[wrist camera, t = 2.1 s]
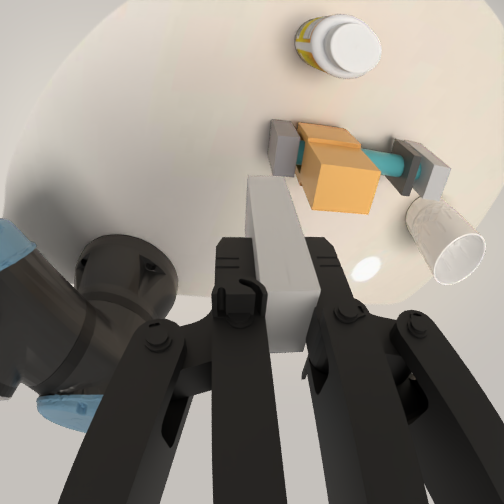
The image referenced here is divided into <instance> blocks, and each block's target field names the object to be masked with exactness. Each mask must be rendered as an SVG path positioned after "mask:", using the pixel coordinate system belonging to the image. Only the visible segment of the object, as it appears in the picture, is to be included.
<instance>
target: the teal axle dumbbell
mask: <svg viewBox="0 0 504 504" xmlns="http://www.w3.org/2000/svg"><path fill="white" fill-rule="evenodd" d="M304 148H305V141H302V140H300V136H299V134H298V133H297V131H296V129H295V128H294V126H293V124H292V123H291V121H283V120H272V121H271V130H270V138H269V147H268V158H269V162H270V166H271V170H272V174H273V176H286V177H294V174H295V168H296V165H302V159H303V154H304ZM360 149H361V150H362V151H363V152H364V153H365V154H366V155H367V156H368V158H369V159H370V160H371V161H372V162H373V163H374V164H375V165H376V166H377V168H378V169H379V170H380V171H381V175H385V176H386V178H387V179H388V180H389V181H390V182H391V183H392V185H393V186H394V187H395V188H396V189H397V191H398V192H399V193H400V194H401V195H403V196H409V195H410V192H411V190H412V187H413V189H414V190H415V191H416V192H417V193H418V194H419V195H420V196H421V197H422V199H428V200H434V201H440V198H441V196H442V193H443V190H444V188H445V185H446V182H447V179H448V177H449V174H450V171H451V168H450V167H449V166H448V165H446V164H445V163H444V162H443V161H442V160H440V159H439V158H438V157H437V156H436V155H434V154H433V153H432V152H431V151H429V150H428V149H427V148H426V147H424V146H423V145H422V144H420V143H416V142H412V141H407V140H404V142H403V141H402V140H397V139H395V141H394V145H393V148H392V152H391V153H385V152H380V151H374V150H368V149H362V148H360Z"/></svg>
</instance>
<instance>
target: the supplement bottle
mask: <svg viewBox="0 0 504 504" xmlns="http://www.w3.org/2000/svg"><path fill="white" fill-rule="evenodd" d="M295 47H296V50H297V53H298V54H299V56H300V57H301V59H302V60H303V61H304V62H305V63H307V64H308V65H310V66H312V67H314V68H316V69H319V70H321V71H323V72H326V73H328V74H330V75H332V76H335V77H338V78H343V79H353V78H357V77H360V76H362V75H364V74H366V73H367V72H368V71H370V70H372V69H373V68H374V67H375V66H376V65H377V64H378V62H379V60H380V58H381V53H382V48H381V43H380V40H379V38H378V37H377V35H376V34H375V33H374V32H373V31H372V29H371V28H370V27H369V26H368V25H367V24H366V23H365V22H364V21H362V20H361V19H359V18H357V17H354V16H351V15H346V14H337V15H331V16H325V17H320V18H315V19H311V20H309V21H307V22H305V23H304V24H303V25H302V26H301V27H300V28H299V30H298V31H297V34H296V37H295Z"/></svg>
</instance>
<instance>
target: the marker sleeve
mask: <svg viewBox="0 0 504 504" xmlns="http://www.w3.org/2000/svg"><path fill="white" fill-rule="evenodd" d="M297 133H298V134H299V136H300V140H302V141H305V148H304V154H303V159H302V165H296V168H295V174H296V176H297V179H298V182H299V184H300V186H303V189H304V191H305V194H306V196H307V199H308V201H309V204H310V207H311V209H312V210H318V211H332V212H344V213H356V214H367V215H368V214H369V211H370V208H371V205H372V201H373V198H374V195H375V192H376V188H377V185H378V181H379V178H380V175H381V171H380V170H379V169H378V168H377V166H376V165H375V164H374V163H373V162H372V161H371V160H370V159H369V158H368V156H367V155H366V154H365V153H364V152H363V151H362V150H361V149H360V148H361V144H360V143H359V142H358V141H357V140H356V139H355V138H354V137H353V136H352V135H351V134H350V133H349V132H348V131H347V130H346V129H344V128H337V127H330V126H323V125H316V124H308V123H300V122H299V123H298V130H297Z"/></svg>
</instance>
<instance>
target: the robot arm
mask: <svg viewBox="0 0 504 504" xmlns="http://www.w3.org/2000/svg"><path fill="white" fill-rule="evenodd" d="M245 237H246V238H245ZM245 237H223V238H222V239H221V241H220V242H219V243H218V245H217V246H216V262H215V286H214V288H213V291H212V294H211V296H212V310H211V311H210V313H209V314H208V315H207V316H206V317H204V318H203V319H201V320H200V321H197V322H195V323H192V324H188V325H184V326H179V325H177V324H176V323H175V322H173V321H170V320H168V319H165V317H166V316H167V314H168V313H169V311H170V310H171V308H172V306H173V304H174V301H175V299H176V294H177V288H178V278H177V274H176V271H175V269H174V267H173V265H172V263H171V262H170V261H169V259H168V258H167V257H166V256H165V255H164V254H163V253H162V252H161V251H160V250H158V249H157V248H156V247H154V246H153V245H151V244H149V243H147V242H145V241H143V240H140V239H138V238H135V237H131V236H125V235H108V236H103V237H100V238H98V239H95V240H94V241H92V242H91V243H89V244H88V245H87V246H86V247H85V249H84V250H83V252H82V254H81V256H80V258H79V260H78V262H77V265H76V269H75V281H74V287H73V286H72V285H71V284H70V283H69V282H68V281H67V280H66V279H65V278H64V277H63V276H62V275H61V274H60V273H59V272H58V271H57V270H56V269H55V268H54V267H53V266H52V265H51V264H50V263H49V262H48V261H47V260H46V259H45V258H44V256H43V255H42V254H41V253H40V252H39V251H38V250H37V249H36V247H37V245H36V244H35V243H34V242H30V241H29V240H28V239H27V237H26V236H25V235H24V234H23V233H22V232H21V231H20V230H19V229H18V228H17V227H16V226H15V225H14V224H13V223H12V222H11V221H9V220H7V219H4V218H0V400H9V399H10V398H11V397H12V395H13V393H14V392H15V390H16V388H17V387H18V385H19V384H20V383H23V384H25V385H27V386H28V387H30V388H31V389H32V390H34V391H35V392H37V393H38V394H39V397H38V398H37V401H36V402H37V409H38V412H39V413H40V414H42V415H43V417H45V418H46V419H48V420H49V421H51V422H53V423H56V424H58V425H60V426H63V427H66V428H69V429H73V430H76V431H80V432H84V433H86V435H85V437H84V439H83V442H82V444H81V447H80V449H79V451H78V454H77V456H76V459H75V461H74V463H73V466H72V468H71V471H70V473H69V476H68V478H67V481H66V483H65V486H64V489H63V491H62V494H61V496H60V499H59V502H58V504H160V501H161V497H162V494H163V491H164V488H165V484H166V481H167V478H168V475H169V472H170V468H171V465H172V462H173V459H174V456H175V452H176V449H177V446H178V443H179V440H180V437H181V434H182V430H183V427H184V424H185V421H186V418H187V415H188V412H189V408H190V405H191V402H192V399H193V396H194V395H196V394H200V393H203V392H206V391H210V390H212V474H213V504H287V497H286V488H285V479H284V471H283V462H282V453H281V445H280V437H279V428H278V419H277V411H276V402H275V394H274V386H273V378H272V369H271V361H270V353H286V352H303V350H304V346H305V343H306V344H307V349H308V357H307V360H306V363H305V366H304V369H303V372H302V379H305V378H306V375H308V381H309V386H310V392H311V398H312V403H313V408H314V414H315V420H316V426H317V432H318V438H319V443H320V450H321V456H322V462H323V468H324V475H325V481H326V488H327V494H328V501H329V504H429V503H428V499H427V495H426V490H425V486H426V488H427V490H428V492H429V494H430V496H431V497H432V499H433V501H434V503H435V504H504V423H503V421H502V420H501V418H500V416H499V415H498V413H497V412H496V410H495V409H494V407H493V405H492V404H491V402H490V401H489V399H488V398H487V396H486V394H485V393H484V391H483V390H482V389H481V387H480V385H479V384H478V383H477V381H476V380H475V378H474V377H473V375H472V374H471V372H470V371H469V369H468V368H467V366H466V365H465V364H464V362H463V361H462V359H461V358H460V357H459V355H458V354H457V353H456V351H455V350H454V348H453V347H452V346H451V344H450V343H449V342H448V340H447V339H446V338H445V336H444V335H443V333H442V332H441V331H440V330H439V328H438V327H437V326H436V324H435V323H434V322H433V321H432V320H431V319H430V318H429V317H428V316H427V315H426V314H424V313H422V312H420V311H415V310H407V311H404V312H402V313H401V314H400V315H399V317H398V318H397V320H393V319H389V318H383V317H378V316H376V315H372V314H370V313H369V311H368V309H367V308H366V306H365V305H364V304H363V303H361V302H360V301H359V300H357V299H354V297H353V295H352V292H351V289H350V287H349V284H348V282H347V279H346V277H345V274H344V272H343V269H342V267H341V264H340V262H339V259H337V254H336V252H335V249H334V247H333V246H332V245H331V244H330V243H329V242H328V241H327V240H326V239H325V238H324V237H304V234H303V231H302V228H301V225H300V222H299V219H298V216H297V213H296V210H295V207H294V204H293V201H292V198H291V195H290V192H289V190H288V187H287V184H286V181H285V178H284V176H252V175H248V179H247V199H246V220H245ZM424 484H425V486H424Z"/></svg>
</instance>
